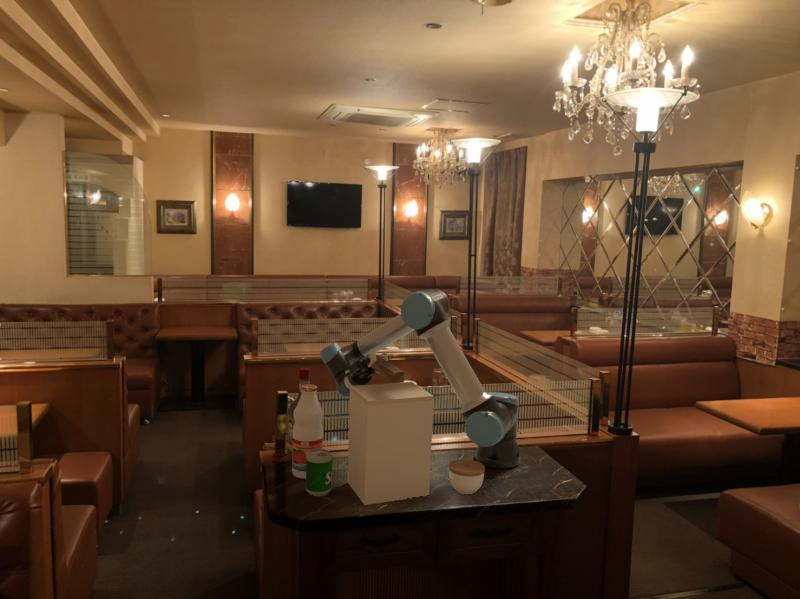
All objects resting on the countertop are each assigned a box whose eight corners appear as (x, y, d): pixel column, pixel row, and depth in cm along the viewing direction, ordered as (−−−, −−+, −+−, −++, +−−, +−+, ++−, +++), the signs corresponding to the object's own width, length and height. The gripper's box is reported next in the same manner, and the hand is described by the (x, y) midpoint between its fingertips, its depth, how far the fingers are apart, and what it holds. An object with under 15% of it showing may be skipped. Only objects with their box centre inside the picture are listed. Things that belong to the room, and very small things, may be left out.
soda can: (320, 500, 175) (321, 459, 174) (300, 493, 179) (301, 453, 178) (336, 490, 182) (337, 451, 180) (316, 484, 186) (317, 445, 184)
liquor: (309, 449, 213) (311, 364, 209) (321, 458, 206) (323, 370, 202) (284, 454, 208) (286, 367, 204) (295, 463, 201) (297, 373, 197)
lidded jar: (482, 484, 190) (484, 455, 189) (484, 499, 180) (485, 468, 178) (447, 481, 191) (449, 452, 190) (447, 496, 181) (448, 466, 179)
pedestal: (407, 474, 195) (411, 381, 192) (429, 495, 181) (433, 396, 177) (347, 482, 188) (350, 386, 184) (364, 505, 173) (367, 401, 169)
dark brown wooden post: (374, 363, 197) (375, 353, 197) (403, 382, 175) (404, 371, 175) (366, 363, 196) (366, 354, 196) (394, 382, 174) (394, 372, 174)
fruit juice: (325, 468, 197) (327, 383, 194) (317, 480, 188) (319, 391, 184) (297, 466, 199) (298, 381, 195) (287, 477, 189) (289, 389, 186)
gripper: (382, 386, 210) (406, 366, 190) (336, 389, 204) (357, 369, 184) (378, 365, 212) (403, 343, 192) (333, 367, 206) (353, 345, 186)
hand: (380, 356), depth 188 cm, fingers closed on dark brown wooden post, 3 cm apart
